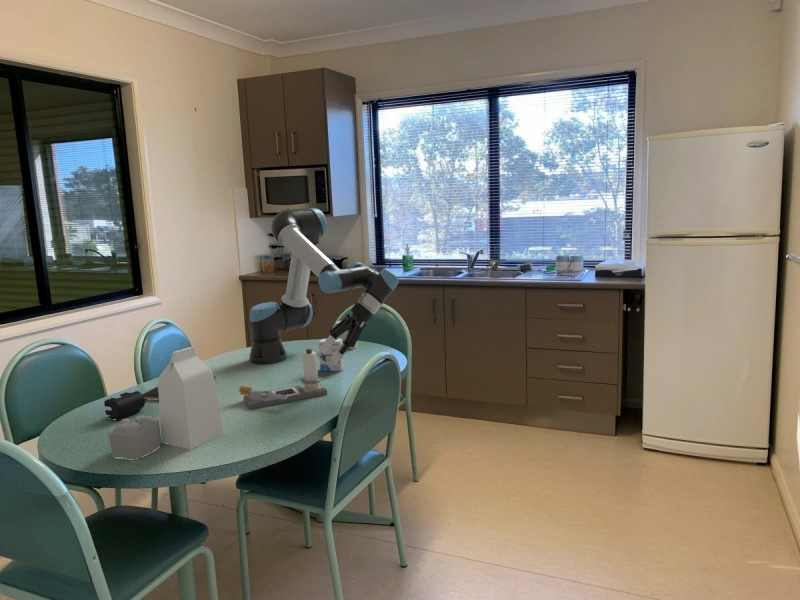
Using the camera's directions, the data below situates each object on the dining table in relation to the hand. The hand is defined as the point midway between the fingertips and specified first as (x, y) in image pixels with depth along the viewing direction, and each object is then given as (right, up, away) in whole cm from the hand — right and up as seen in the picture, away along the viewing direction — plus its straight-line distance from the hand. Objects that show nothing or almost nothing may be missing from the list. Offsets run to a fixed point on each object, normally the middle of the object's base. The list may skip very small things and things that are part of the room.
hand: (327, 356), depth 204 cm
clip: (-20, -12, -11) cm, 26 cm away
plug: (-5, -10, -1) cm, 12 cm away
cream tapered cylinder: (+2, -2, +58) cm, 58 cm away
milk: (-34, -20, -36) cm, 53 cm away
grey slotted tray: (-13, -13, -4) cm, 19 cm away
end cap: (-63, -18, -14) cm, 67 cm away
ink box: (-1, -8, +25) cm, 26 cm away
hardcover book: (-54, -14, +9) cm, 57 cm away
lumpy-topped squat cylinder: (-46, -22, -41) cm, 66 cm away
